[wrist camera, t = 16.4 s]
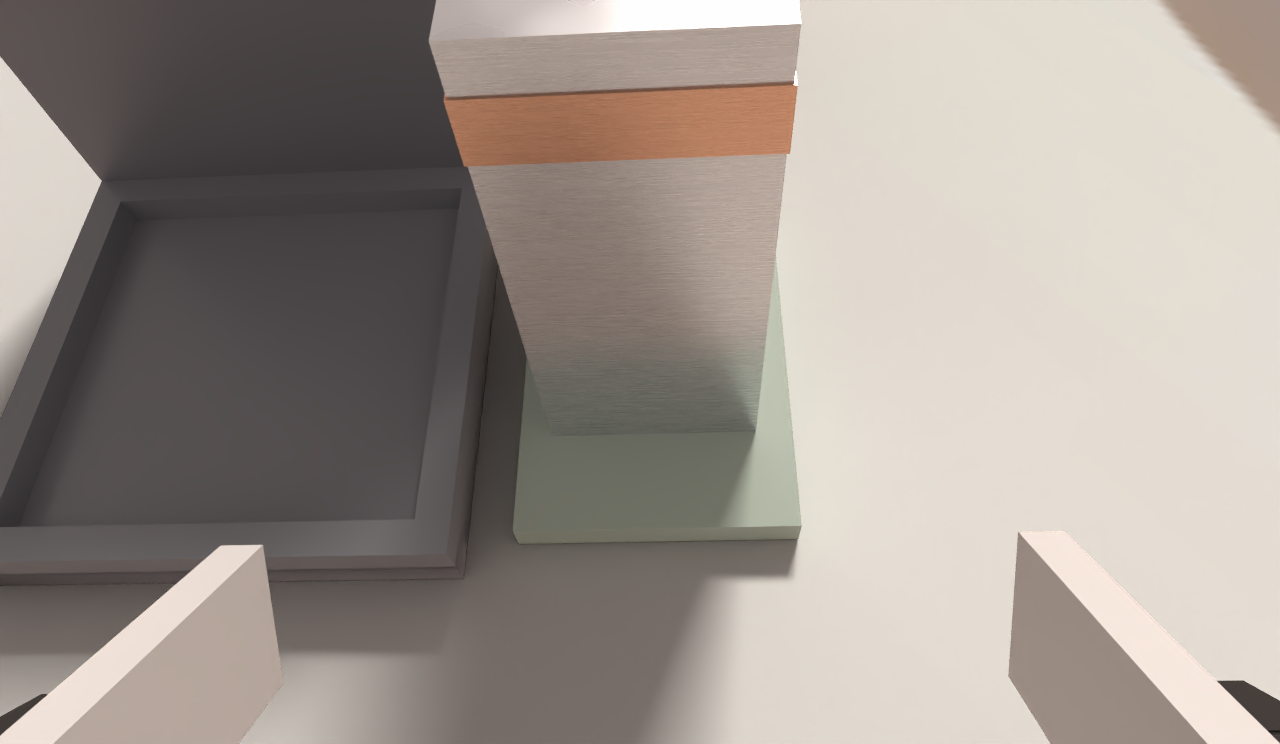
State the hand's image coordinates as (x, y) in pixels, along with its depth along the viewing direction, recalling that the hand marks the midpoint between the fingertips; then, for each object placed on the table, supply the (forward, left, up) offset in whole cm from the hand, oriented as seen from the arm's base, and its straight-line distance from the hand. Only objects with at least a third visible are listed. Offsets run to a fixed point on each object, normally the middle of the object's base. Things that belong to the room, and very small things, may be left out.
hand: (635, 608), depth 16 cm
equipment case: (-12, +11, -9) cm, 19 cm away
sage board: (0, +11, -9) cm, 14 cm away
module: (0, +11, -8) cm, 13 cm away
